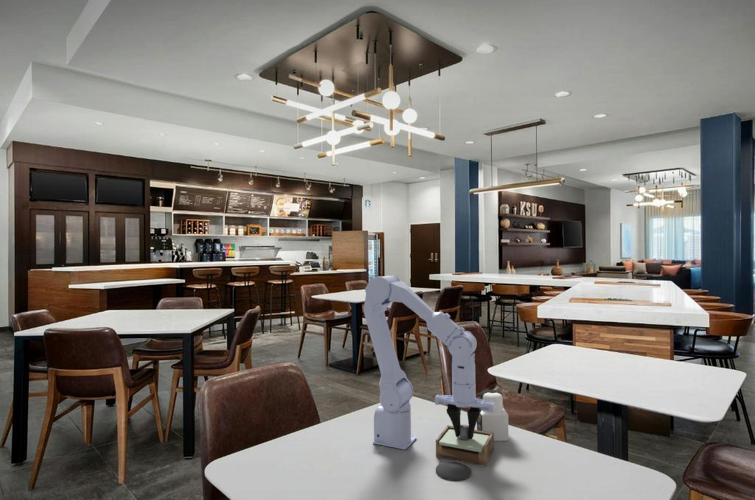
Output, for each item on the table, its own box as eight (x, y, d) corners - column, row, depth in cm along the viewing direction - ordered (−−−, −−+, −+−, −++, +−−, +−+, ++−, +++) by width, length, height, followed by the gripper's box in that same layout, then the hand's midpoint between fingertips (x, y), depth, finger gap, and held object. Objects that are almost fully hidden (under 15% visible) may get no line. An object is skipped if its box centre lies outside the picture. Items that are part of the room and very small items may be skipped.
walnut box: (447, 440, 117) (447, 425, 117) (493, 449, 112) (493, 432, 112) (435, 456, 108) (435, 439, 108) (485, 466, 103) (484, 448, 103)
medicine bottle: (476, 430, 124) (475, 387, 124) (502, 430, 124) (501, 387, 124) (481, 441, 117) (481, 396, 117) (509, 441, 116) (508, 395, 117)
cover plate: (449, 431, 116) (449, 417, 116) (489, 438, 111) (489, 423, 111) (439, 444, 108) (438, 429, 108) (481, 452, 104) (481, 436, 104)
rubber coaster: (430, 476, 99) (430, 474, 99) (441, 460, 106) (441, 459, 106) (466, 483, 95) (466, 481, 95) (475, 467, 103) (475, 465, 103)
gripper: (430, 382, 109) (431, 437, 109) (489, 389, 103) (490, 448, 103) (439, 375, 116) (440, 427, 116) (495, 381, 109) (496, 436, 109)
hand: (464, 436), depth 110 cm, fingers open, 3 cm apart
